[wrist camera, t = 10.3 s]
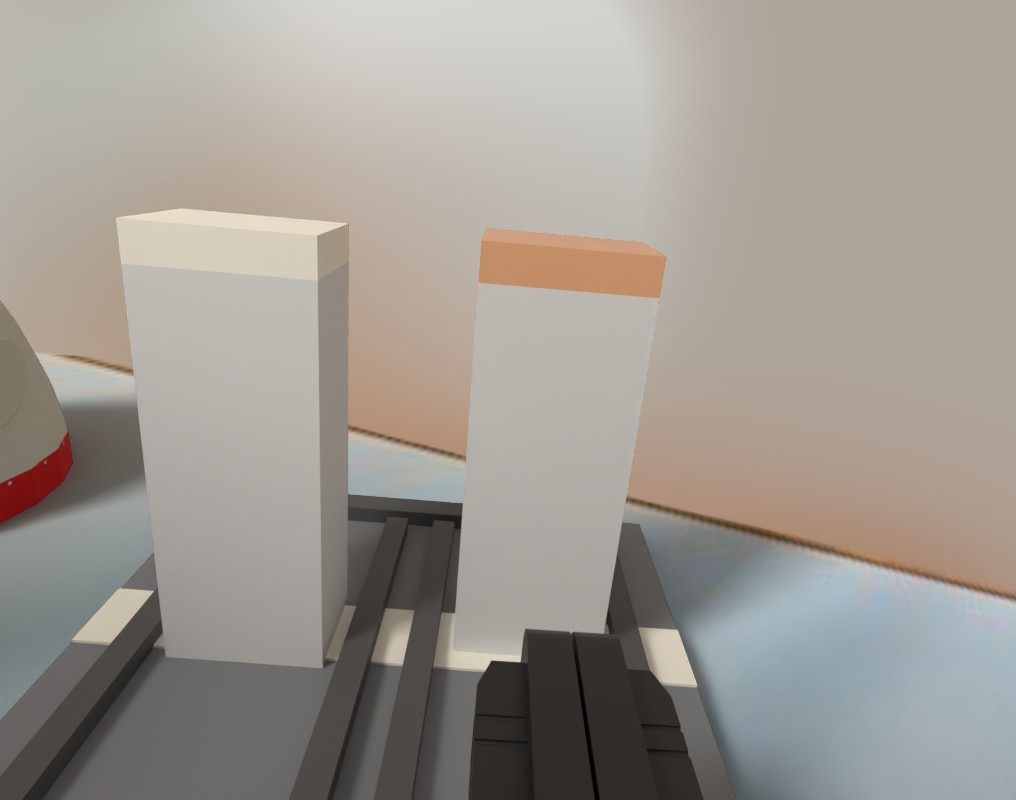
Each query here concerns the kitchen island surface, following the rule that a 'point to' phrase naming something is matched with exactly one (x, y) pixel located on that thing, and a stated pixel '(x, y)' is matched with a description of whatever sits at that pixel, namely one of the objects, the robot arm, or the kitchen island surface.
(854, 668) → the kitchen island surface
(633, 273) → the fader tab
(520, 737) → the robot arm
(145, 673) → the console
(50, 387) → the kitchen timer
